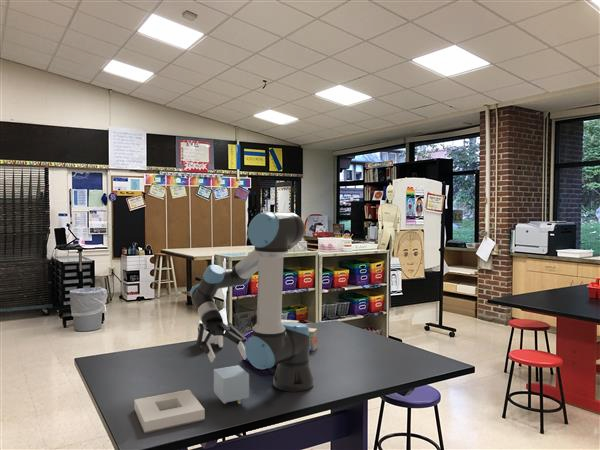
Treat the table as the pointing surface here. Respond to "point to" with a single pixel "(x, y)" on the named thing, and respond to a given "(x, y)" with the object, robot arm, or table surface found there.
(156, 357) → the table surface
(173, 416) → the socket
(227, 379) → the grey-blue block
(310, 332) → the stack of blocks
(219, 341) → the cable organizer
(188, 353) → the table surface
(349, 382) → the table surface
